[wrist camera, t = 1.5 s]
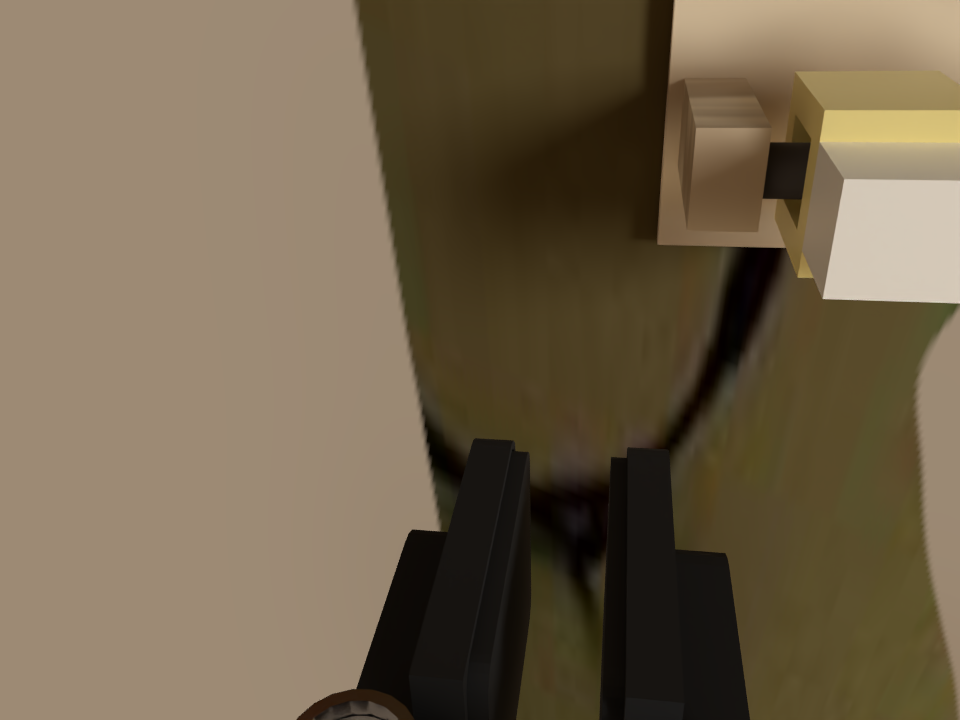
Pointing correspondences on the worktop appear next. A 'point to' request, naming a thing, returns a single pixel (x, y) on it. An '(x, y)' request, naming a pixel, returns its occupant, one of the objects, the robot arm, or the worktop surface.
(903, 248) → the sleeve
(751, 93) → the roller holder rack
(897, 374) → the worktop surface
